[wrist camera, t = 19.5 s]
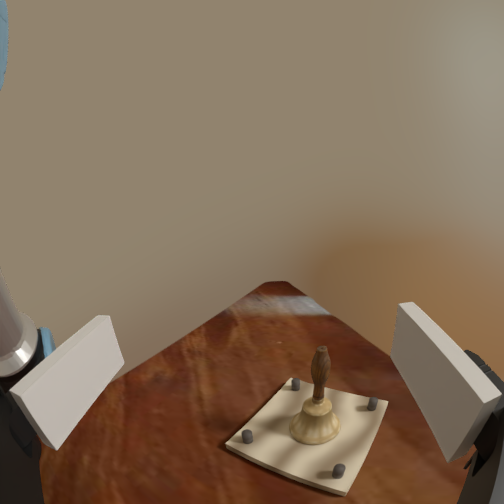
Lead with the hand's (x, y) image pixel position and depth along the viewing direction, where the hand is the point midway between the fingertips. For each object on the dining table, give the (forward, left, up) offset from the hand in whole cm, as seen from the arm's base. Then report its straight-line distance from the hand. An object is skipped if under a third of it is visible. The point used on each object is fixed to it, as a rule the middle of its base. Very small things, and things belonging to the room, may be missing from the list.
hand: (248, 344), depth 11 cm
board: (-5, +20, -31) cm, 37 cm away
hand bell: (-5, +20, -30) cm, 36 cm away
